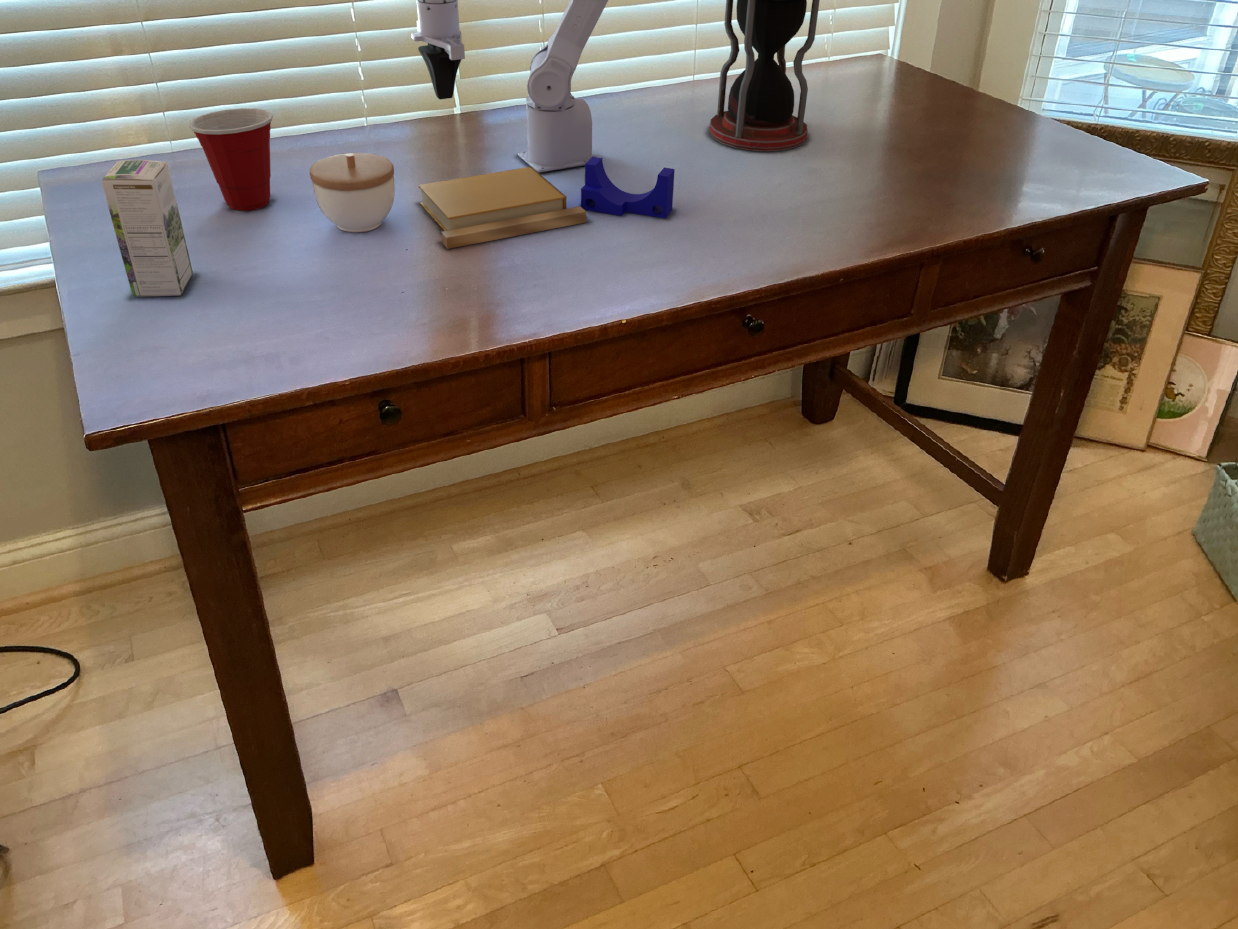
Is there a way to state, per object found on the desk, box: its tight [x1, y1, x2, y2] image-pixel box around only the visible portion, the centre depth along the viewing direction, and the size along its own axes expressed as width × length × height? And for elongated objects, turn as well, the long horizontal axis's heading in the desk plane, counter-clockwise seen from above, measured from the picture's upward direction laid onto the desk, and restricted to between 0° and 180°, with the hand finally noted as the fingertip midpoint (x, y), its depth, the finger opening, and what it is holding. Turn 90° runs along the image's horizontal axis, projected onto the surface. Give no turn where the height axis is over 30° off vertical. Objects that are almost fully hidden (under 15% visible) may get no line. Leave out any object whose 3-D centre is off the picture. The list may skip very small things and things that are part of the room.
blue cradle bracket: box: [580, 156, 675, 219], centre depth 142 cm, size 12×4×6 cm, turn 71°
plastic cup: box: [187, 107, 274, 212], centre depth 139 cm, size 11×11×12 cm
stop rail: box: [441, 205, 587, 250], centre depth 137 cm, size 20×2×2 cm, turn 118°
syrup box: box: [100, 159, 194, 297], centre depth 118 cm, size 6×6×14 cm
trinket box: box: [309, 152, 396, 233], centre depth 135 cm, size 11×11×9 cm
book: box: [418, 166, 567, 232], centre depth 142 cm, size 17×12×3 cm
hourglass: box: [709, 0, 820, 152], centre depth 162 cm, size 16×16×25 cm
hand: (444, 97), depth 152 cm, fingers closed
